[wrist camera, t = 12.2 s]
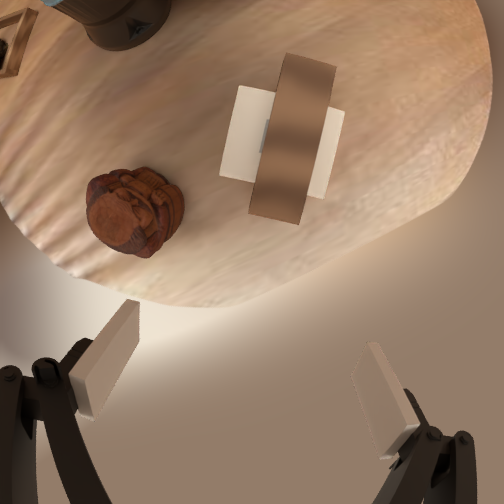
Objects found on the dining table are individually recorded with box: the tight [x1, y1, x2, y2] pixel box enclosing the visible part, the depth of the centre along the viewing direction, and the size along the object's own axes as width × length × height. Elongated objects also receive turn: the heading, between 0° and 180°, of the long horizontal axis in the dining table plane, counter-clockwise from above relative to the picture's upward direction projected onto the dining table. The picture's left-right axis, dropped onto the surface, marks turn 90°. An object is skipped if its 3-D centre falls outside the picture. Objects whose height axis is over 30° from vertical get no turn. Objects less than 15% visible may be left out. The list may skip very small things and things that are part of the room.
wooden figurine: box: [86, 167, 184, 258], centre depth 36 cm, size 12×6×18 cm, turn 50°
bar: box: [248, 53, 337, 225], centre depth 31 cm, size 18×6×5 cm, turn 167°
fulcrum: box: [219, 85, 345, 200], centre depth 37 cm, size 14×16×9 cm
